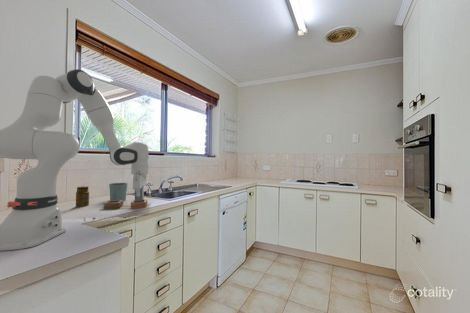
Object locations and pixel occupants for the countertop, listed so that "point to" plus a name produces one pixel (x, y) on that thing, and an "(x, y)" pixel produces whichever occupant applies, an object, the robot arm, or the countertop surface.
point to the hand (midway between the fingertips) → (139, 195)
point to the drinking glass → (118, 191)
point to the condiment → (82, 196)
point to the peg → (141, 197)
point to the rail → (124, 205)
